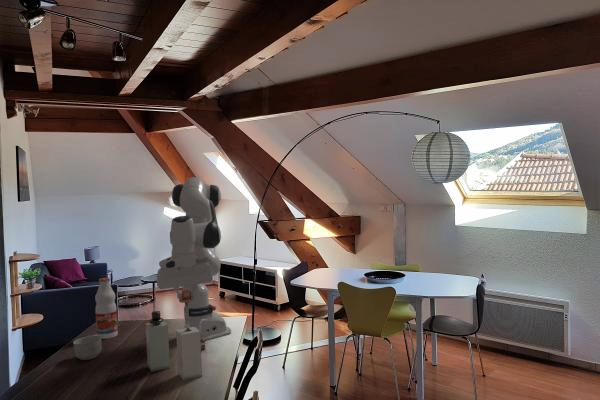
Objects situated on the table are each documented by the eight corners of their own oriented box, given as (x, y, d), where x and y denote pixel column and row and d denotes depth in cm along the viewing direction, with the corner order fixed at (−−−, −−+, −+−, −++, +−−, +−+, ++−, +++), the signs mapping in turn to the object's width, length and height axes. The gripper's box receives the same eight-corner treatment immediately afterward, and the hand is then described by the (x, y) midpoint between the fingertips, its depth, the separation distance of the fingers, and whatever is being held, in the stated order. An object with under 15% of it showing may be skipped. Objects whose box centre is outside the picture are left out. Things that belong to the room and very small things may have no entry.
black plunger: (163, 354, 196) (161, 309, 195) (166, 358, 191) (164, 312, 191) (150, 357, 194) (147, 311, 193) (152, 361, 189) (150, 314, 188)
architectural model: (206, 351, 210) (205, 334, 209) (190, 355, 206) (189, 337, 206) (204, 349, 213) (203, 332, 212) (188, 352, 209) (187, 335, 209)
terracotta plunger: (193, 336, 185) (190, 288, 185) (197, 340, 181) (194, 290, 180) (179, 339, 183) (177, 290, 182) (183, 342, 178) (180, 292, 178)
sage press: (165, 362, 197) (163, 320, 197) (169, 367, 191) (167, 324, 191) (147, 366, 194) (145, 323, 193) (151, 371, 188) (149, 327, 187)
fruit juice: (117, 332, 242) (114, 275, 241) (118, 337, 234) (115, 279, 233) (97, 335, 239) (93, 278, 238) (96, 340, 230) (93, 281, 229)
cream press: (196, 370, 187) (194, 326, 186) (202, 376, 181) (199, 331, 180) (178, 374, 184) (176, 329, 183) (183, 381, 178) (181, 334, 177)
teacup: (91, 362, 201) (90, 343, 200) (68, 361, 203) (67, 342, 203) (111, 351, 214) (110, 332, 214) (89, 350, 216) (88, 332, 216)
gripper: (208, 256, 189) (210, 292, 189) (154, 262, 179) (156, 300, 179) (214, 258, 183) (215, 295, 183) (158, 264, 173) (160, 303, 174)
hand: (186, 297), depth 181 cm, fingers closed on terracotta plunger, 3 cm apart
